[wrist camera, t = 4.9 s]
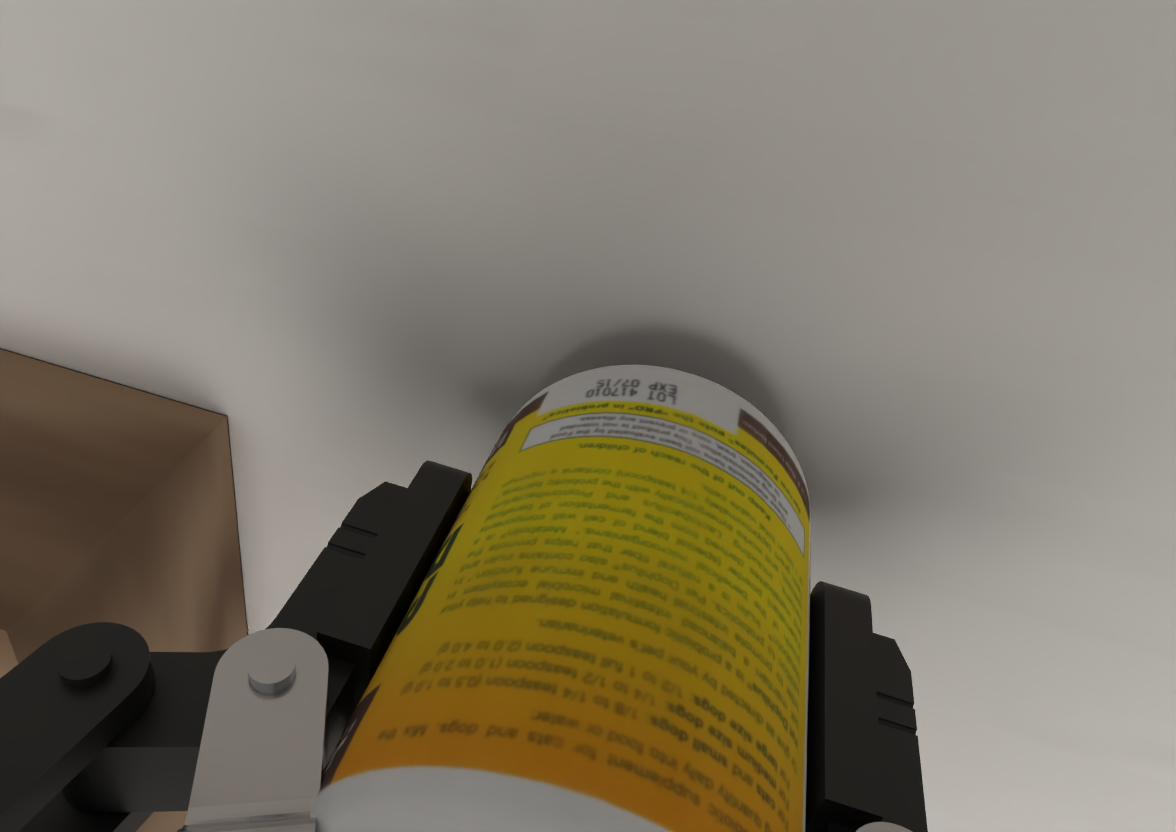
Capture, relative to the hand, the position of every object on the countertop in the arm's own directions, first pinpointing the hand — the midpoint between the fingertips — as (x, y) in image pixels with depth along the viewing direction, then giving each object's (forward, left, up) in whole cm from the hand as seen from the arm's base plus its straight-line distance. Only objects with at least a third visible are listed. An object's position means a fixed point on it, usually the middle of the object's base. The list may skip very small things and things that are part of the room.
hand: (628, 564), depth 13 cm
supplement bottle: (0, 0, -2) cm, 2 cm away
